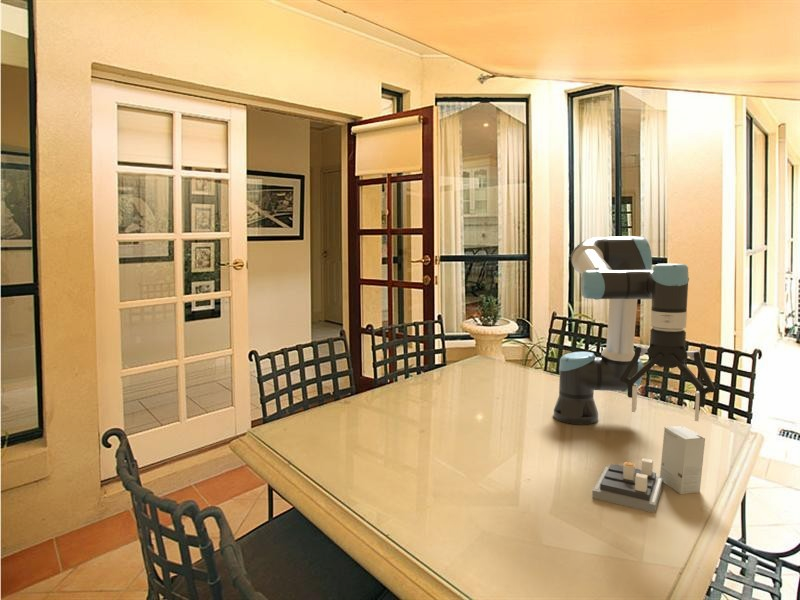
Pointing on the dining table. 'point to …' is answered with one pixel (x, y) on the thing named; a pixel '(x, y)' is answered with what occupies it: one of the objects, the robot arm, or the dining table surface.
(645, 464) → the block
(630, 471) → the breaker mid
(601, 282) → the robot arm
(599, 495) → the panel
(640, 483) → the block
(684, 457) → the skincare box
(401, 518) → the dining table surface
